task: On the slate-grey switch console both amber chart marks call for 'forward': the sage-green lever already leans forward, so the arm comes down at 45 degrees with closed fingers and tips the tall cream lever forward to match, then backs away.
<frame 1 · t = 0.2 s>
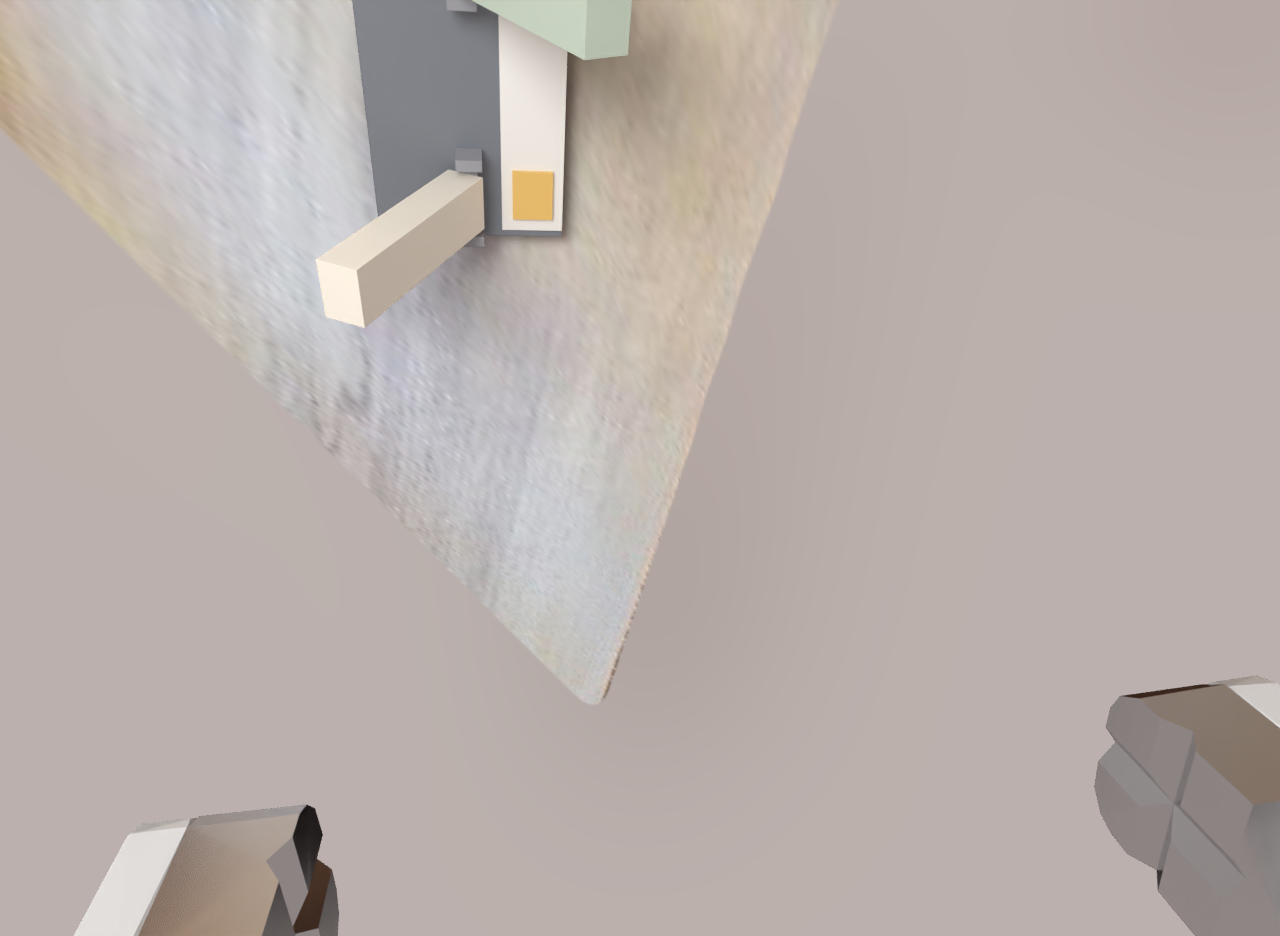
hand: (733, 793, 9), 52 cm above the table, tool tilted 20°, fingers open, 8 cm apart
console: (465, 71, 52), on the table
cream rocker: (414, 238, 50), point 8 cm above the table, hinge at -28.0°
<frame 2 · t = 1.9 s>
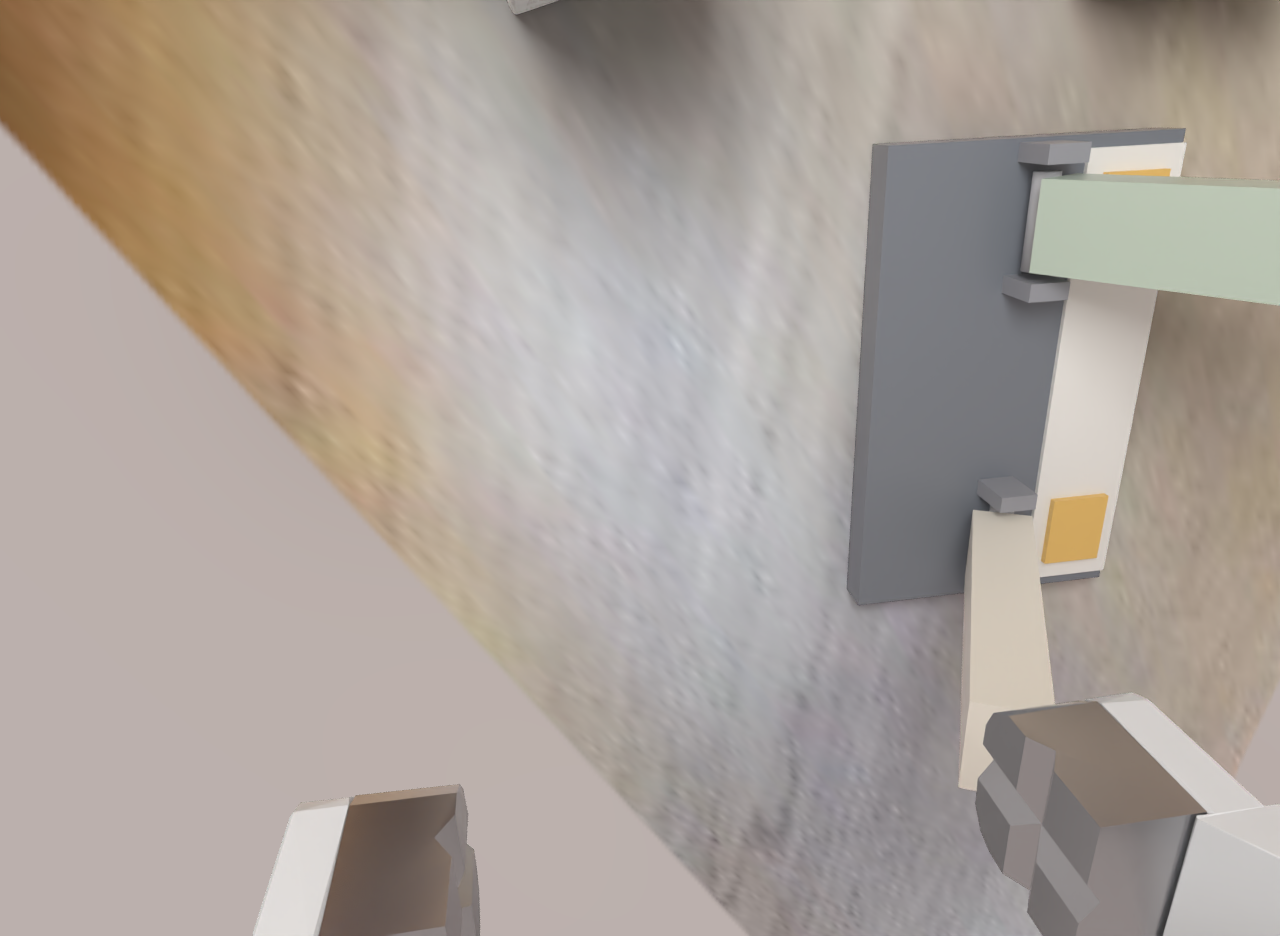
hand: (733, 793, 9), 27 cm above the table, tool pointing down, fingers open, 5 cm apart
console: (989, 378, 37), on the table
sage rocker: (1238, 238, 27), point 8 cm above the table, hinge at 28.0°
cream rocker: (1000, 624, 32), point 8 cm above the table, hinge at -28.0°
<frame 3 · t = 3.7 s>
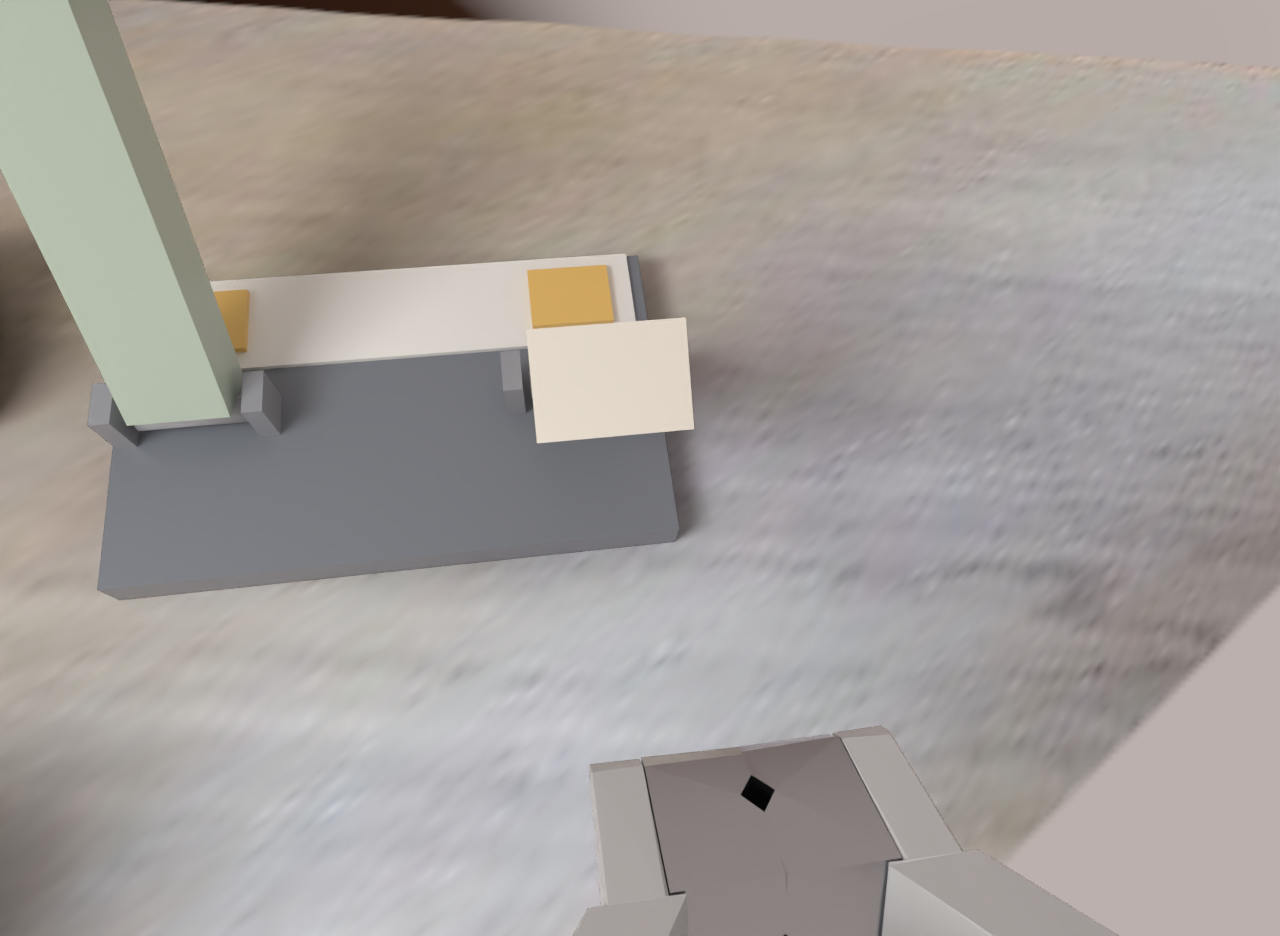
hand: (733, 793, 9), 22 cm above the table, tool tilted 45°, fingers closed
console: (402, 422, 33), on the table
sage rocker: (117, 234, 26), point 8 cm above the table, hinge at 28.0°
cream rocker: (590, 380, 25), point 8 cm above the table, hinge at -28.0°
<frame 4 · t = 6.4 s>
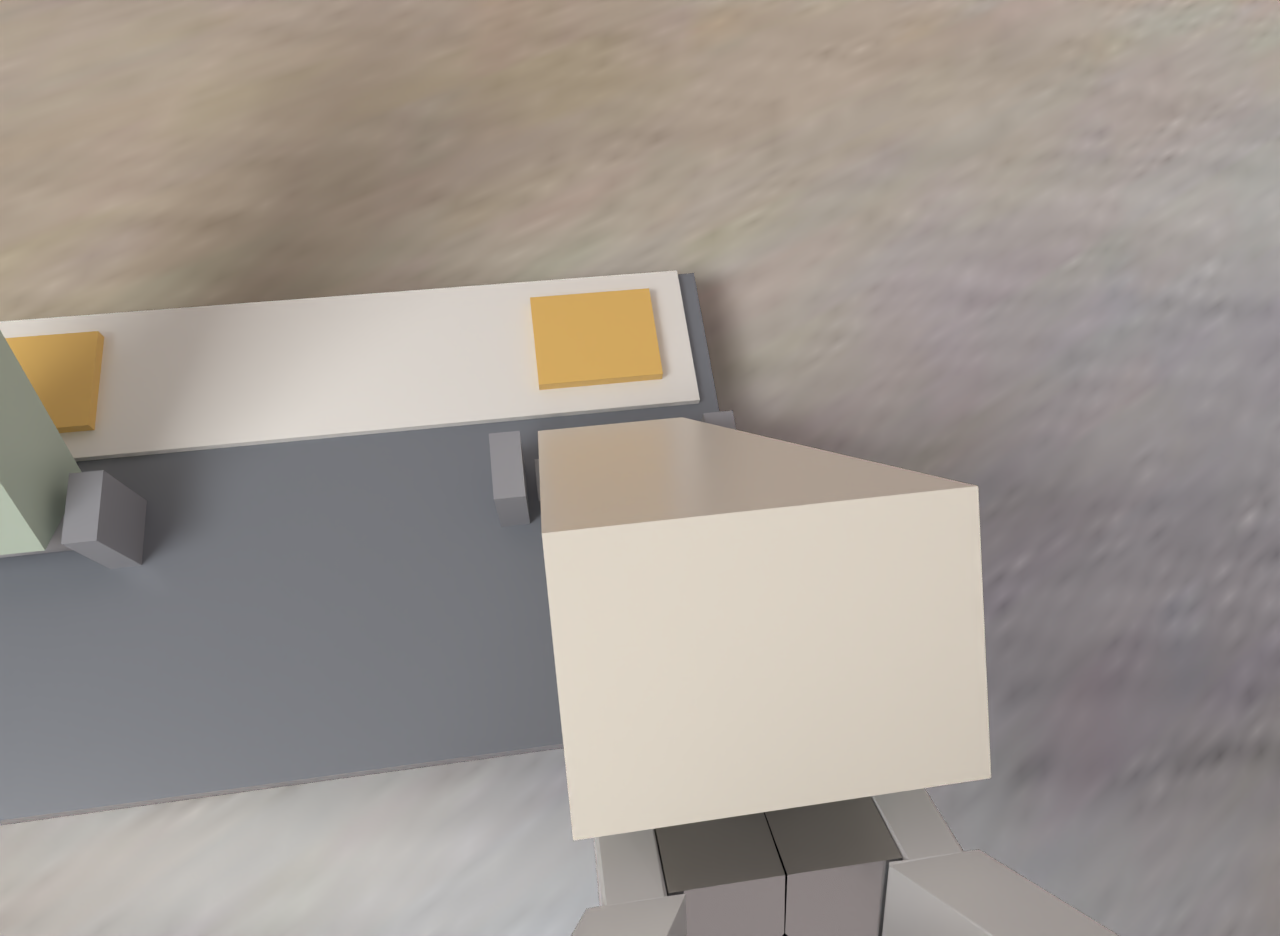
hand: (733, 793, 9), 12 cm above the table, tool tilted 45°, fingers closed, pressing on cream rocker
console: (341, 532, 22), on the table
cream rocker: (651, 515, 14), point 8 cm above the table, hinge at -27.3°, touching gripper
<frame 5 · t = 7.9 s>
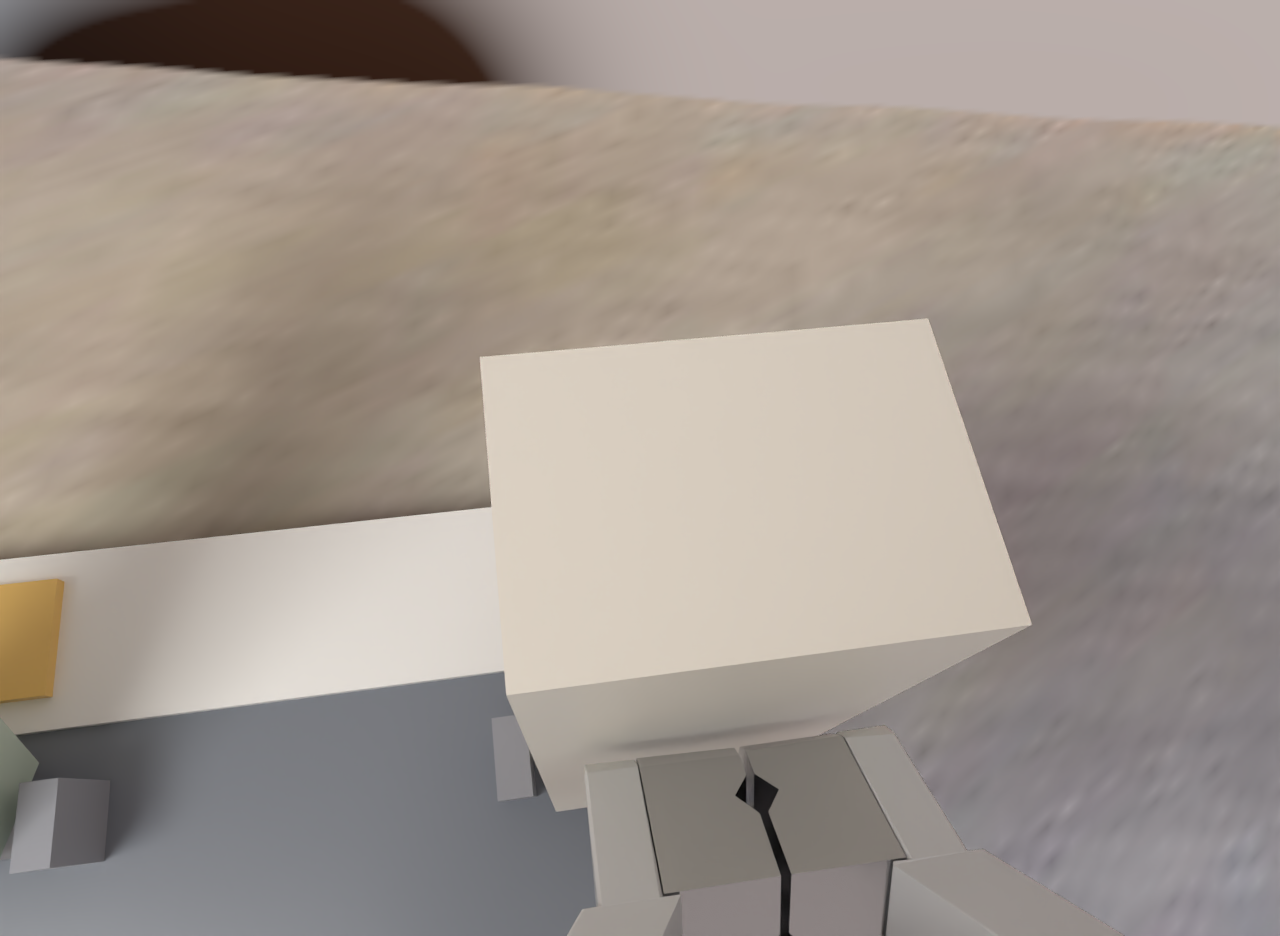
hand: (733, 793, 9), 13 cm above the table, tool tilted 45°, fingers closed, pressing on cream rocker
console: (328, 792, 20), on the table
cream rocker: (654, 684, 12), point 9 cm above the table, hinge at 3.3°, touching gripper
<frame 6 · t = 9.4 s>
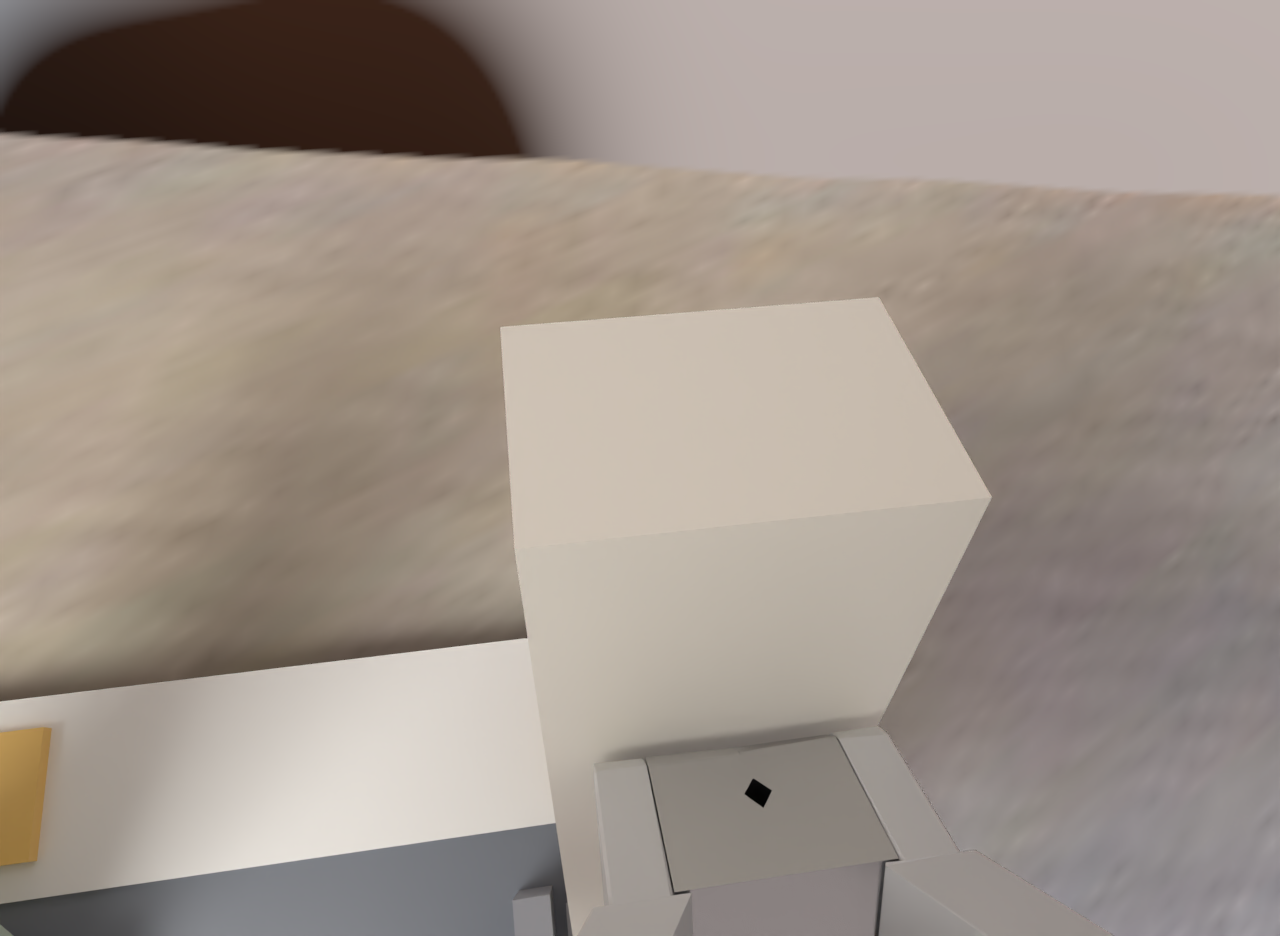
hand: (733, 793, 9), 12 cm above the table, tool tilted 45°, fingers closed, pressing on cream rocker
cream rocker: (677, 779, 12), point 9 cm above the table, hinge at 21.0°, touching gripper
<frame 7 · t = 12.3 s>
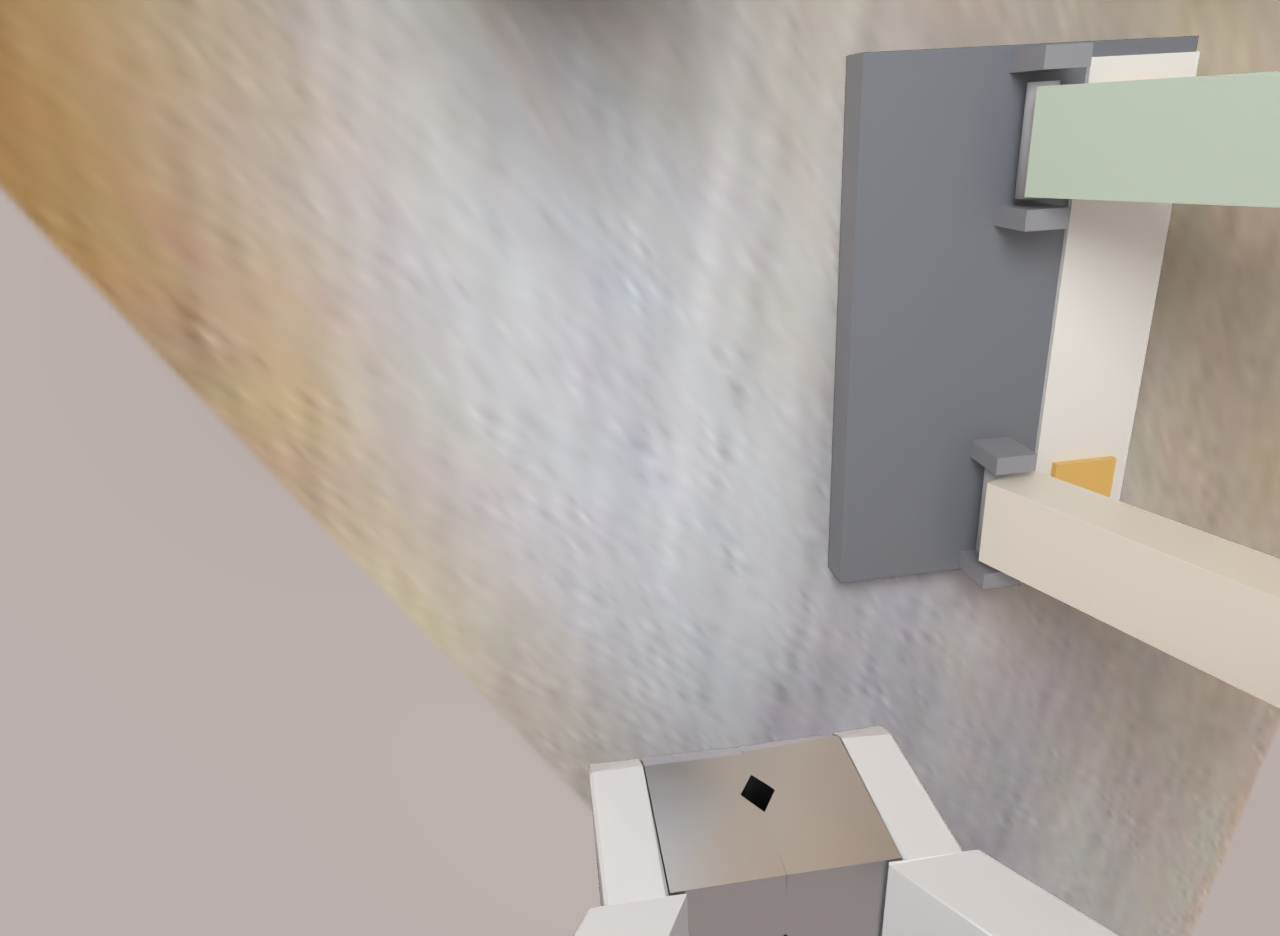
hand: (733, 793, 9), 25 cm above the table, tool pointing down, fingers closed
console: (981, 327, 34), on the table
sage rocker: (1265, 138, 24), point 8 cm above the table, hinge at 28.0°
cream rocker: (1159, 580, 29), point 9 cm above the table, hinge at 21.2°
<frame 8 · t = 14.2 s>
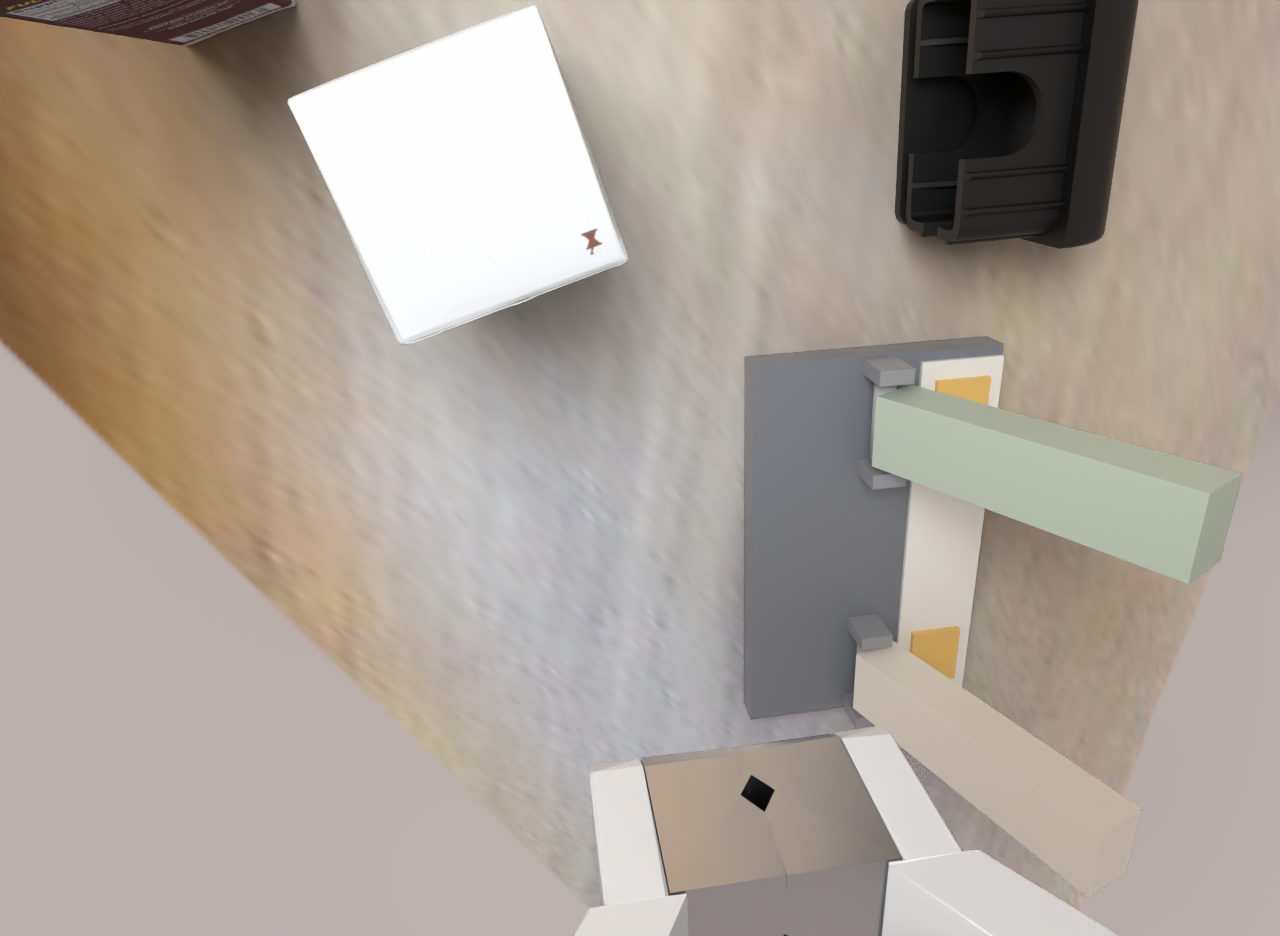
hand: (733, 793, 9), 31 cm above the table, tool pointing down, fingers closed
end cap: (974, 110, 37), on the table
console: (856, 532, 44), on the table
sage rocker: (1017, 465, 34), point 8 cm above the table, hinge at 28.0°
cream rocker: (967, 744, 39), point 9 cm above the table, hinge at 21.2°
supplement box 2: (483, 160, 35), on the table
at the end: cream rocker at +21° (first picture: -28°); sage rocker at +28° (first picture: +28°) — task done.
